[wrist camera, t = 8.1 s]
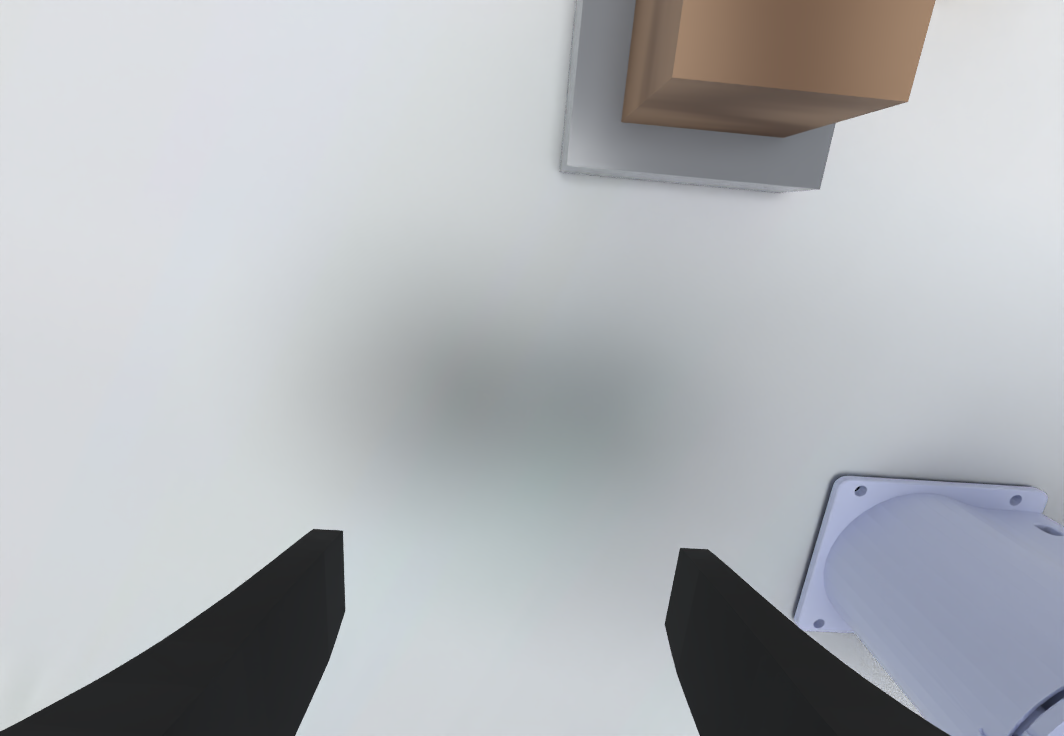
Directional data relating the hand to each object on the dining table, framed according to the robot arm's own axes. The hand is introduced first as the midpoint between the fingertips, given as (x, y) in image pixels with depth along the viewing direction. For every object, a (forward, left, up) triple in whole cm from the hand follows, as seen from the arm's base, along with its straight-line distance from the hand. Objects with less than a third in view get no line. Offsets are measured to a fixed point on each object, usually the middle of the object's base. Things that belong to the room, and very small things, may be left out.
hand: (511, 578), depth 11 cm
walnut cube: (-5, -13, -7) cm, 16 cm away
